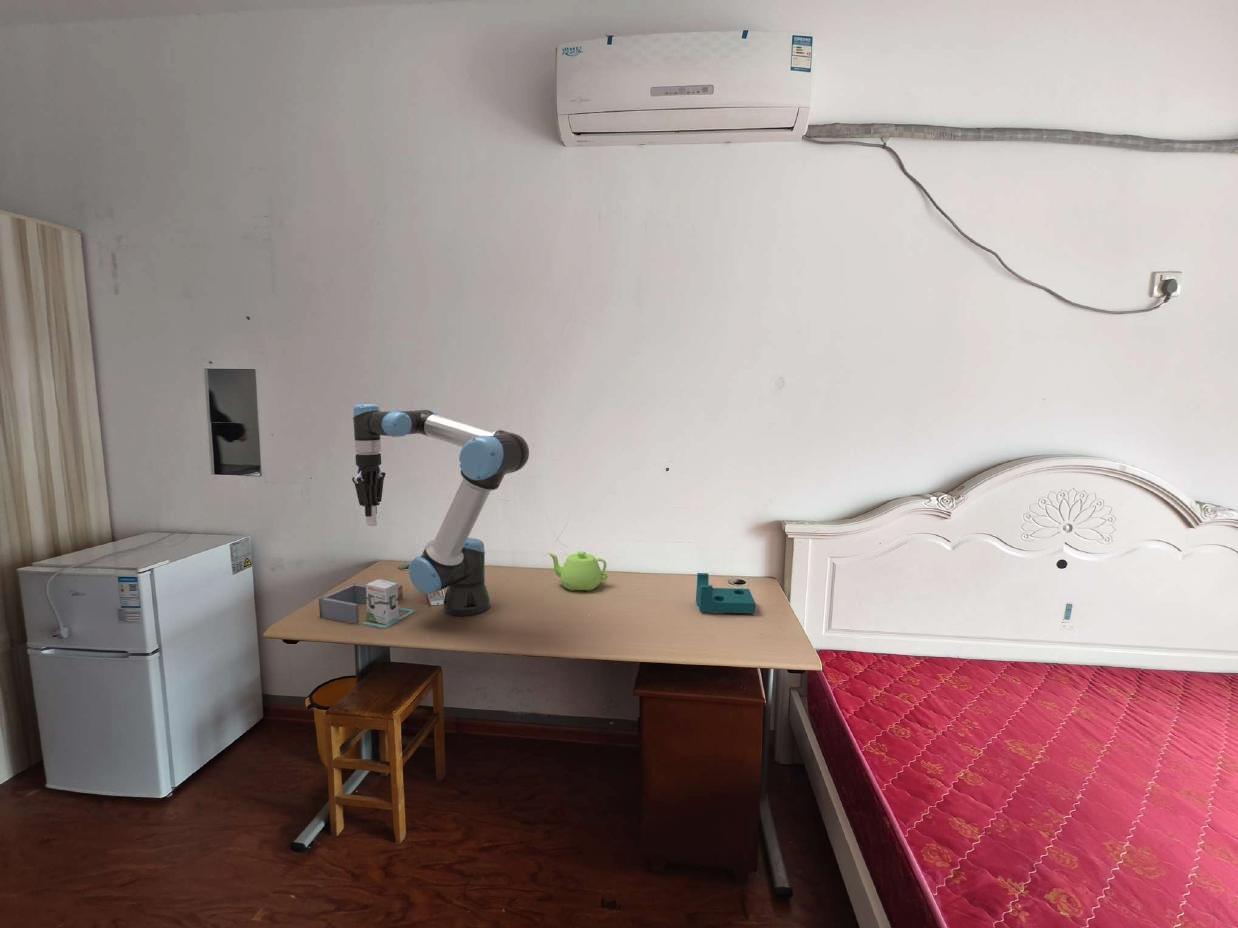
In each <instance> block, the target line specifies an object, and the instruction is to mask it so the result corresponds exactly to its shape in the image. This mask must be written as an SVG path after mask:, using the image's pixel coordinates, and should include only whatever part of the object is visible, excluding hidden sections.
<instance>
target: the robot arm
mask: <svg viewBox="0 0 1238 928" xmlns="http://www.w3.org/2000/svg"><path fill="white" fill-rule="evenodd" d="M352 412H353V414H352V415H353V416H352V420H353V431H354V432H353V433H354V449H355V451H354V452H355V456H354V457H355V466H357V467H358V469H357V475H356V476H353V477H352V478H351V481H352V482H353V484H354V486H355V487H354V488H355V492H356V496H357V500H358V504H359V506H362V507H364V515H365V522H366V527H376V526H377V525H378V523H377V514H378V509H377V508H378V507H377V506H380V504H381V502H382V497H383V488H384V481H385V477H386V475H387V474H386V472H385V471H384V472H383V471H381V468H380V466H381V465H382V454H381V453H380V452H381V451H382V446H381V443H382V442H381V436H384V437H385V436H386V437H393V438H397V437H405V436H408V435H417V434H418V435H423V436H426V437H430V438H432V439H435V440H436V439H437V440H439V441H443V442H446V443H449V444H452V445H454V446H458V447H461V448H460V452H459V457H458V461H459V462H460V463H459V468H460V471H459V473H460V475H461V478H462V479H461V482H460V484H459V486H458V488H457V490H456V493H455V495H454V497H453V500H452V501H451V504H450V505H449V507H448V510H447V512H446V514H445V516H444V519H443V521H442V522H441V525H440V527H439V529H438V532H437V533H436V536H435V538H434V539H432V540H429V542H427V544H426V545H425V547H424V550H423V552H422V553H421V555H420V556H416V557H414V558H413V559H411V561H410V563H409V565H408V576H409V580H410V582H411V584H412V585H413V587H414V588H415V589H416V590H417V591H418V592H420V593H422V594H424V595H431V594H434V593H439V592H440V591H442V590H444V589H446V591H445V594H444V598H443V601H442V611H444V613H446V614H449V615H451V616H460V617H462V616H463V617H464V616H466V617H467V616H473V615H478V614H481V613H484V612H485V611H487V610H488V609H490V607H491V597H490V596H489V592H488V589H487V586H486V582H485V581H486V580H485V573H486V572H485V567H486V566H485V553H486V551H485V543H484V541H482V540H481V539H478V538H475V537H473V538H472V537H469V536H470V535H471V532H472V531H473V529H474V526H475V524H476V522H477V520H478V519H479V516H480V514H481V512H482V511H483V508H484V505H486V502H487V500H488V497H489V496H490V493H491V492H492V491H496V490H497V489H499V487H500V485H501V483H502V481H503V479H504V477H505V475H507V474H511V473H515V472H518V471H520V470H521V469H523V467H525V466H526V464H527V463H528V461H529V459H530V449H529V448H530V447H529V444H528V443H527V441H526V440H525V439H524V437H523V436H521V435H519V434H516V433H513V432H510V431H506V430H502V429H497V430H495V431H494V430H490V429H487V428H484V427H481V426H477V425H474V424H470V423H466V422H463V421H461V420H456V419H452V418H448V417H446V416H442V415H439V414H438V413H437V412H436V411H434V410H431V409H418V410H398V411H397V410H396V411H381V410H380V406H379V405H378V404H372V403H371V404H369V403H366V404H364V403H362V404H360V403H359V404H355V405H354V407H353V411H352Z"/></svg>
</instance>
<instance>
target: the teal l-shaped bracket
mask: <svg viewBox="0 0 1238 928" xmlns="http://www.w3.org/2000/svg"><path fill="white" fill-rule="evenodd" d="M755 601H756V600H755V599H754V597H753V595H752V592H751V590H750V589H749V588H736V587H735V588H733V587H732V588H726V587H724V588H723V587H713V585H712V584H710V583H709V573H707V572H697V577H696V592H695V602H696V606H698V607H699V608H698V607H697V608H698V609H699V613H714V614H716V613H719V614H720V613H723V614H725V613H726V614H751V613H755V614H756V606H757V605H756V604H757V603H756V602H755Z"/></svg>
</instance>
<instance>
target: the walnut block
mask: <svg viewBox="0 0 1238 928" xmlns="http://www.w3.org/2000/svg"><path fill="white" fill-rule="evenodd" d="M397 586H398V603H399V602H401V601H402V600H403V599H404V594H403V584H398V583H397Z"/></svg>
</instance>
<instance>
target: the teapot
mask: <svg viewBox="0 0 1238 928" xmlns="http://www.w3.org/2000/svg"><path fill="white" fill-rule="evenodd" d="M547 554H548V555H549V556H550V557H551V558H552V561H553V570H554V573H555V575H556V576H558V577H559V580H560V583H561V584H562V586H563V587H564V588H566V589H568V591H587V592H590V591H593V589H596V588H598V586H599V585H600V584H601V582H602V581H607V580H608V574H607V573H605V572H606V568H607V562H606V560H605V559H604V558H601V557H599V558H596V557H595V556H594V555H593V554H590V553H587V552H585V551H581V550H580V551H577V552H576V553H573V554H570V555H568V556H567V558H566V560H565V561H564V563H563V564H562V565H563V566H562V567H561V565H560V564H559V558H558V556H557V555H556V554H554V553H552V552H551V553H550V552H548V553H547ZM599 562H601V563H603V567H602V570H601V567H600V565H599Z"/></svg>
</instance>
